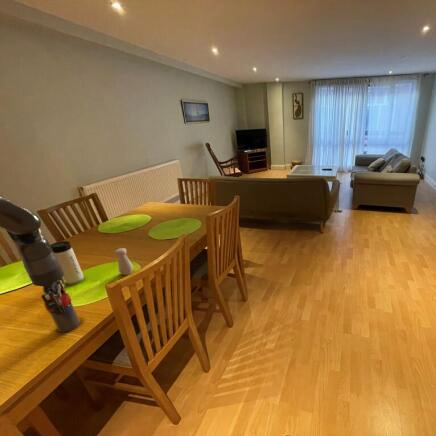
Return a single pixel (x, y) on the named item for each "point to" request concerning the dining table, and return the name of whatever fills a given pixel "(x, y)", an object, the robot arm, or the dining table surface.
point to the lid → (64, 300)
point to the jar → (66, 319)
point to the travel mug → (67, 262)
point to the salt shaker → (123, 262)
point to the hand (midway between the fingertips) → (63, 307)
